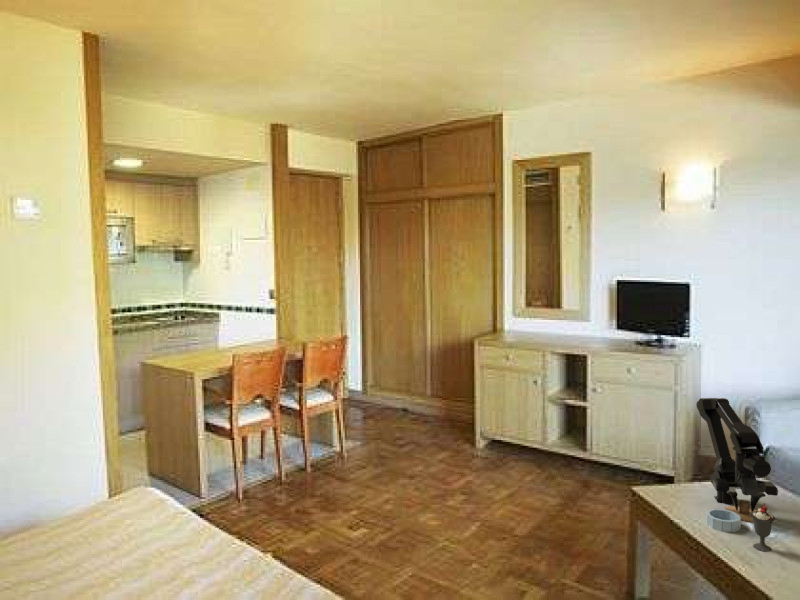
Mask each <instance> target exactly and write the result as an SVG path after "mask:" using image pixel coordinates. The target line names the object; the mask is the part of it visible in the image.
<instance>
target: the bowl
mask: <svg viewBox="0 0 800 600" xmlns="http://www.w3.org/2000/svg"><path fill="white" fill-rule="evenodd" d="M705 523H706V525H707V526H708V527H709V528H710V529H714V530H716V531H720V532H723V533H724V532H725V533H735V532H738V531H740V530H741V527H742V525H741V523H742V521H741V518H740V516H739V515H738V514H736V513H734V512H732V511H729V510H725V508H724V509H723V508H709V509H707V510H706V511H705Z"/></svg>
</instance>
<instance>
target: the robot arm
mask: <svg viewBox="0 0 800 600" xmlns="http://www.w3.org/2000/svg"><path fill="white" fill-rule="evenodd" d="M696 409H697V410H698V413H699V416H700V417H701V418H702V419H703V420H704V421H705V422H706V424H707V427H708V432H709V436H710V439H711V442H712V447H713V451H714V454H715V457H716V462H715V464H714V468H713V469H714V472H713V473H712V475H710V478H709V479H710V483H711V484H712V486H713V488H714V489H715V491H716V495H714V496H713V497H714V499H715V501H716V502H717V503H718V504H726V505H733V506H735V508H736V510H737V511H738V506H739V503H738V502H739V501H738V492H737V491H736V490H737V489H739V490H741V494H742V495H744V496H750V508H751V511H752V512H753V511H754V509H756V507H757V504H758V502H759V501H760V499H762V498H764V497H766V495H767V496H775V497H776V496H778V495H779V489H778V487H777V486H776V485H775V484H774V483H773V482H772V481H766V480H759V479H757V478H766V477H767V476H768V475H769V474H770V473H771V472H772V467H771V465H770V462H768V461H766V460H765V459H766V458H765V456H764V454H765V451H764V446H763V444H762V442H761V440H760V438H759V435H758V434H757V433H756V431H755V430H754V429H753V428H752V427H751V426H749V425H746V424H745V423H743V421H742V420H741V418H740V417H739V416H738V415H737V413H736V411H735V410H734V408H733V407H732V406H731V405H730V401H729V399H728V398H722V397H721V398H720V397H719V398H717V397H706V398H705V397H703V398H699V399H698V401H697V402H696ZM722 421H723V422H724V424H725V425H726V427H727V428H728V430H729V431H730V435H729V438H730V440H731V442H732V445H733V447H732V450H734V452H735V453H734V454H735V455H734V458H732V456H731V452H730V449H729V444H728V441H727V437H726V434H725V431H724V426H723V423H722ZM756 477H757V478H756Z"/></svg>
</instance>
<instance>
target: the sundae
mask: <svg viewBox="0 0 800 600" xmlns="http://www.w3.org/2000/svg"><path fill="white" fill-rule="evenodd" d="M756 510H757V511H754V512H751V513H750V516H751V517H752V518H753V521H754V522H753V527H754V528H753V529H754V532H755V534H756V535H757V536H759V543H754V544H753V545H752V547H753V548H754V549H755V550H757V551H761V552H764V553H765V552H766V553H768V552H771V551H773V549H772V547H771V546H770V545H767V544H766V539H765V538H767V537H769V536H771V531H772V526H773V522H774V521H776V517H775V516H774V515H773V513H771V511H770V510H769V508H768V507H767V506H766V502H764V504H763V505H761V506H759V507H758V508H757V509H756Z"/></svg>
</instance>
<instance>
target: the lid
mask: <svg viewBox="0 0 800 600" xmlns="http://www.w3.org/2000/svg"><path fill="white" fill-rule="evenodd" d="M738 502H739V503H738V511H737V510H736V508H735V506H734V505H730V506H728V505H727V506H725V507H726V508H725V507H724V509H725V510H729V511H732V512H734V513H736V514H738V515H739V516H740V518H741V522H745V523H746V522H747V523H754V521H753V518H752V517H751V516H750V513H751V512H752V511H751V501H750V500H747V499H744V498H742V499H739V501H738ZM757 510H758V509H756V508H755V509H754V511H757ZM754 511H753V512H754Z"/></svg>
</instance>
